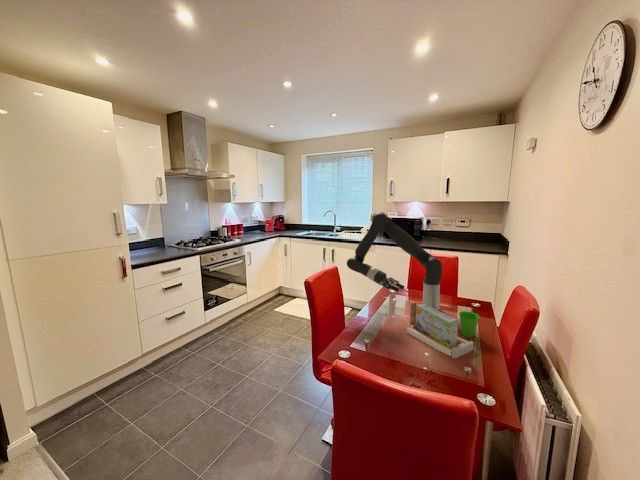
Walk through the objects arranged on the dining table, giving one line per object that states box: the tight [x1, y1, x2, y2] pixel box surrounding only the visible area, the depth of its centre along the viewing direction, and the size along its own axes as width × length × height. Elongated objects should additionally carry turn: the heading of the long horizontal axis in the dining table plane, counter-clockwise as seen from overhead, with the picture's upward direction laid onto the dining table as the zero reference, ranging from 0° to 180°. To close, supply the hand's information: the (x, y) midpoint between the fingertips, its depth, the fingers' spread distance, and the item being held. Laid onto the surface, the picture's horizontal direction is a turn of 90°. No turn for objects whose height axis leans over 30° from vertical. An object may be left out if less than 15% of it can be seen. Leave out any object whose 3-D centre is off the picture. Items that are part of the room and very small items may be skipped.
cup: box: [458, 310, 480, 338], centre depth 134 cm, size 9×9×11 cm
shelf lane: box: [406, 326, 474, 359], centre depth 130 cm, size 14×27×4 cm, turn 29°
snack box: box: [416, 302, 459, 348], centre depth 130 cm, size 21×6×15 cm, turn 23°
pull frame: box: [408, 301, 465, 350], centre depth 132 cm, size 10×28×14 cm, turn 29°
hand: (401, 289), depth 149 cm, fingers open, 8 cm apart
